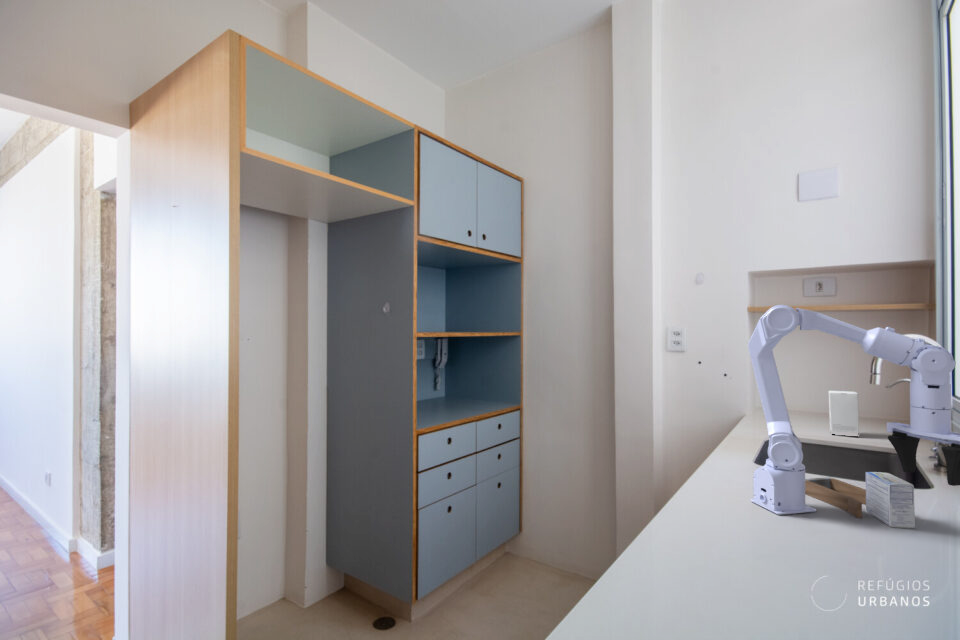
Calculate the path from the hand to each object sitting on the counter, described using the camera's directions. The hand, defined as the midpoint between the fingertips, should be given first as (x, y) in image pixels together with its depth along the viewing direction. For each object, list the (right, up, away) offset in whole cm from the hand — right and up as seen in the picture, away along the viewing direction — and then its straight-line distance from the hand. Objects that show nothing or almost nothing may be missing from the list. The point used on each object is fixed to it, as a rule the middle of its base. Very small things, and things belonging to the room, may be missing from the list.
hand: (930, 478), depth 90 cm
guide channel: (-5, -10, +15) cm, 19 cm away
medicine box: (-3, -11, +6) cm, 12 cm away
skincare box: (+44, -11, +79) cm, 91 cm away
